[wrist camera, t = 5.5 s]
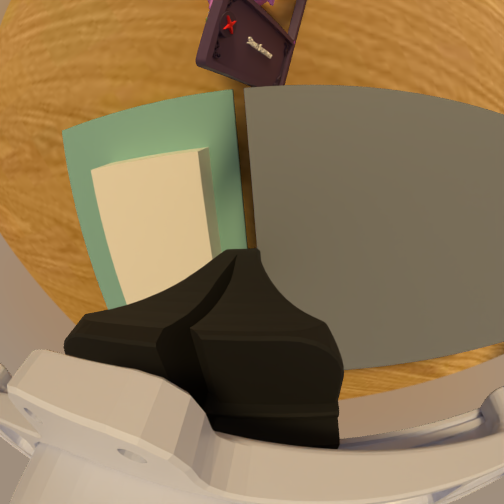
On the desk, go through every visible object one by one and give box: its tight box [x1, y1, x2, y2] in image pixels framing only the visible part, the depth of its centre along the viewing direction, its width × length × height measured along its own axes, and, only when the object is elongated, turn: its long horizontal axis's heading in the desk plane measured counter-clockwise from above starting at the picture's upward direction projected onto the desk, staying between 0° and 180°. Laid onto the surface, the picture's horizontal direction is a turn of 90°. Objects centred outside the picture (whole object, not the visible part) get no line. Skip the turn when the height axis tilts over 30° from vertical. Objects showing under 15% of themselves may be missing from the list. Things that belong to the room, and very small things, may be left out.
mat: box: [62, 89, 248, 310], centre depth 16 cm, size 11×15×1 cm
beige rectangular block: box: [91, 147, 222, 305], centre depth 15 cm, size 6×9×2 cm, turn 4°
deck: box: [244, 85, 504, 370], centre depth 13 cm, size 17×14×4 cm
